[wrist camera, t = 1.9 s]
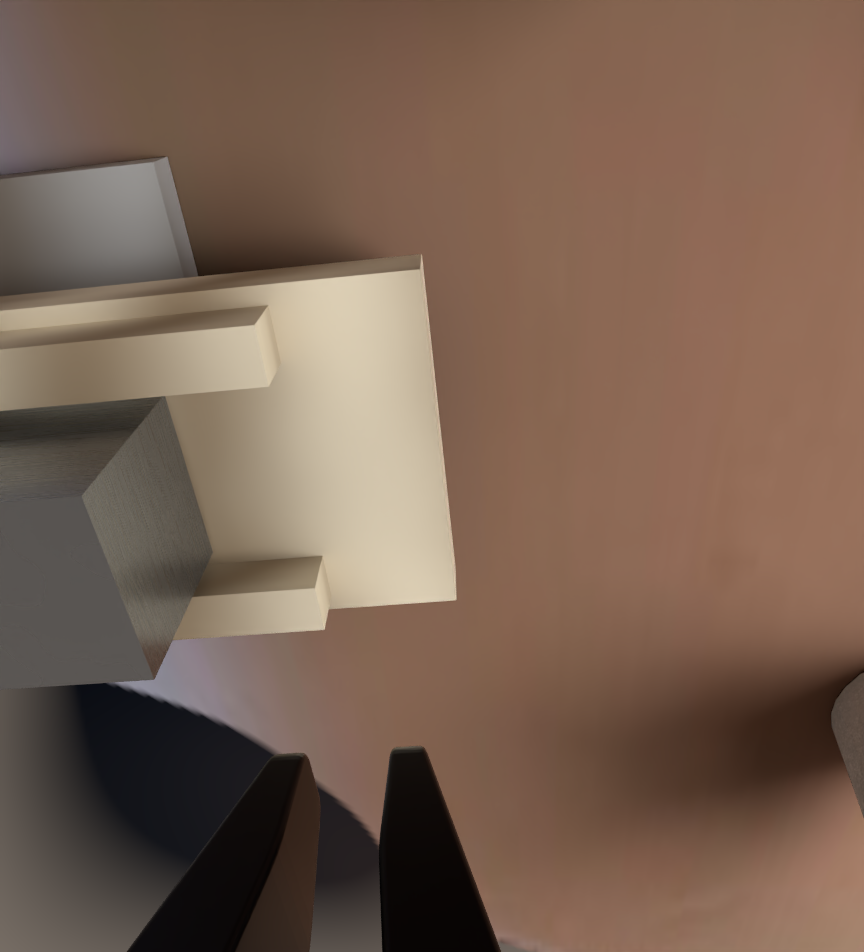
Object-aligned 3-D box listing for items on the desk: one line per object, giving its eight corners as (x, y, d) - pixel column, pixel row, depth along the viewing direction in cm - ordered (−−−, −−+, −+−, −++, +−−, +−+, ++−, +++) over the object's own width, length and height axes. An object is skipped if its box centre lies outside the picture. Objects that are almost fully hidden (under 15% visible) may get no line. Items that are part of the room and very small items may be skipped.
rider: (164, 394, 15) (81, 496, 12) (212, 552, 17) (154, 679, 14) (-68, 415, 15) (-215, 520, 12) (6, 568, 17) (-102, 695, 14)
